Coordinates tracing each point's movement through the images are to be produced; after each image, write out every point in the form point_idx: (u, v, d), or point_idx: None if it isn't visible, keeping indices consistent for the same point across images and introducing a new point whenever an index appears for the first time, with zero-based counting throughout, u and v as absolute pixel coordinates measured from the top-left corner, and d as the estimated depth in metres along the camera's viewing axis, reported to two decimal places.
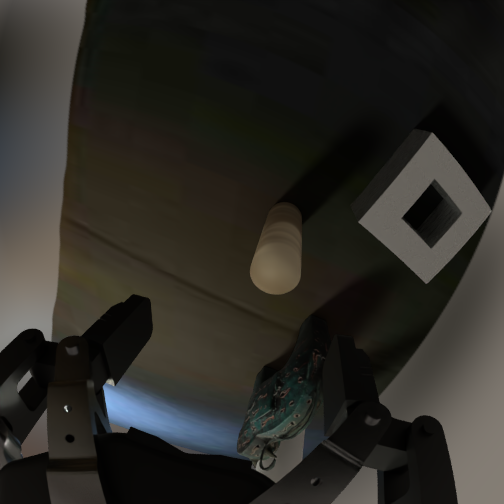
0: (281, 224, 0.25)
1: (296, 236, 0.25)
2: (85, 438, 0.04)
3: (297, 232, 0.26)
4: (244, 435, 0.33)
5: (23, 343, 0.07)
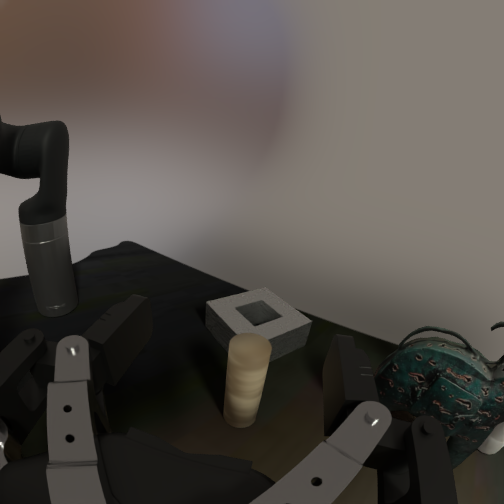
0: None
1: None
2: (86, 438, 0.04)
3: None
4: (503, 397, 0.14)
5: (23, 343, 0.07)
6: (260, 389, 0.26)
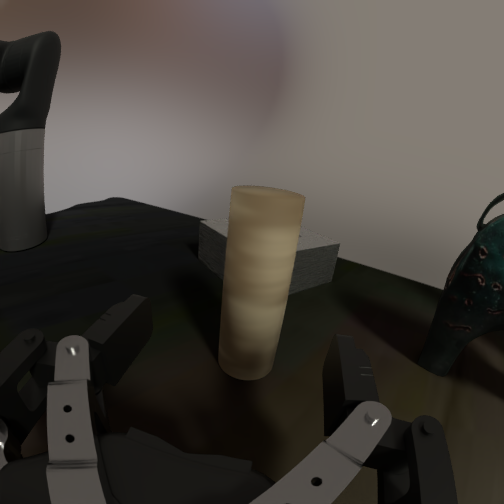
0: None
1: None
2: (85, 438, 0.04)
3: None
4: None
5: (23, 343, 0.07)
6: (286, 287, 0.16)
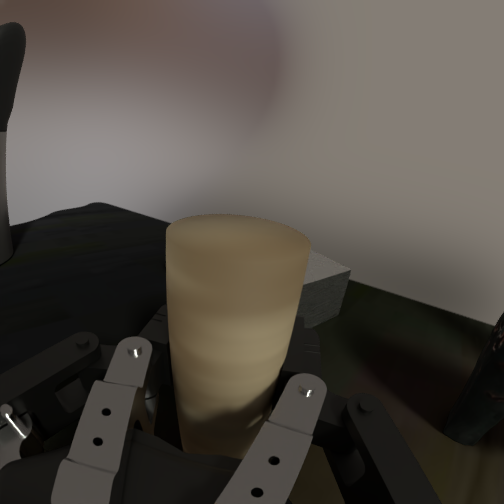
0: None
1: None
2: (114, 446, 0.04)
3: None
4: None
5: (74, 346, 0.07)
6: (271, 392, 0.08)
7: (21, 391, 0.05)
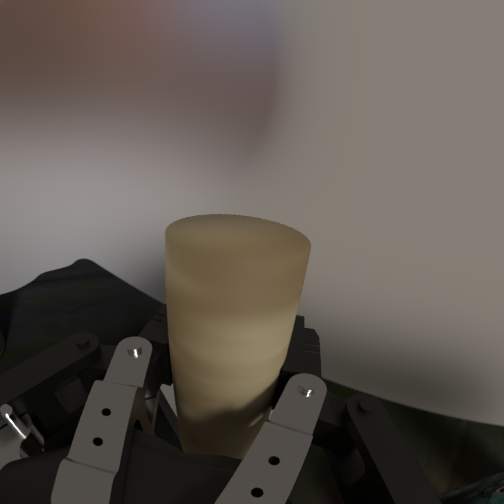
0: None
1: None
2: (114, 446, 0.04)
3: None
4: None
5: (74, 346, 0.07)
6: (271, 393, 0.08)
7: (21, 391, 0.05)
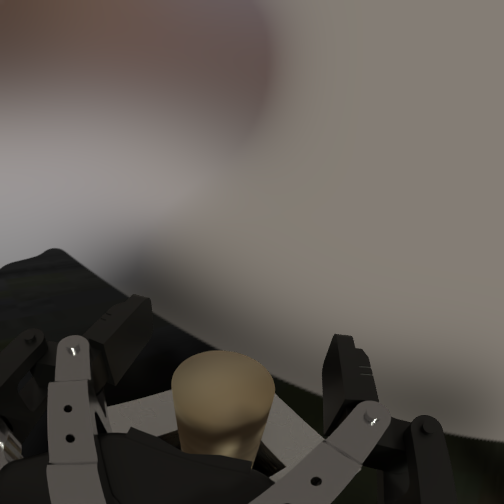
0: None
1: None
2: (86, 438, 0.04)
3: None
4: None
5: (24, 343, 0.07)
6: None
7: None
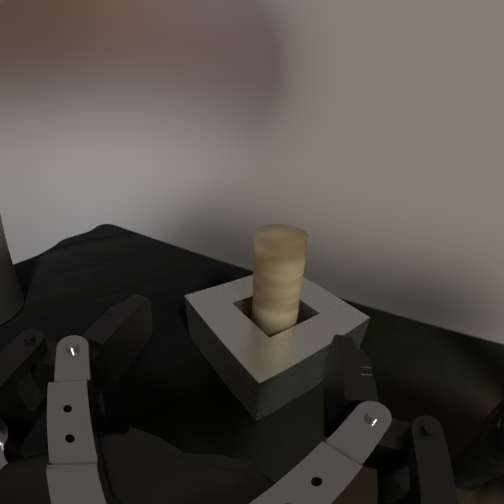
0: None
1: None
2: (85, 438, 0.04)
3: None
4: None
5: (23, 343, 0.07)
6: (297, 298, 0.22)
7: None
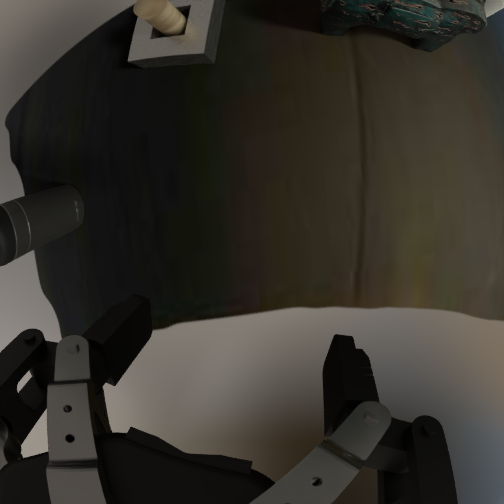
0: None
1: None
2: (85, 438, 0.04)
3: None
4: (458, 22, 0.14)
5: (23, 343, 0.07)
6: (178, 12, 0.25)
7: None
